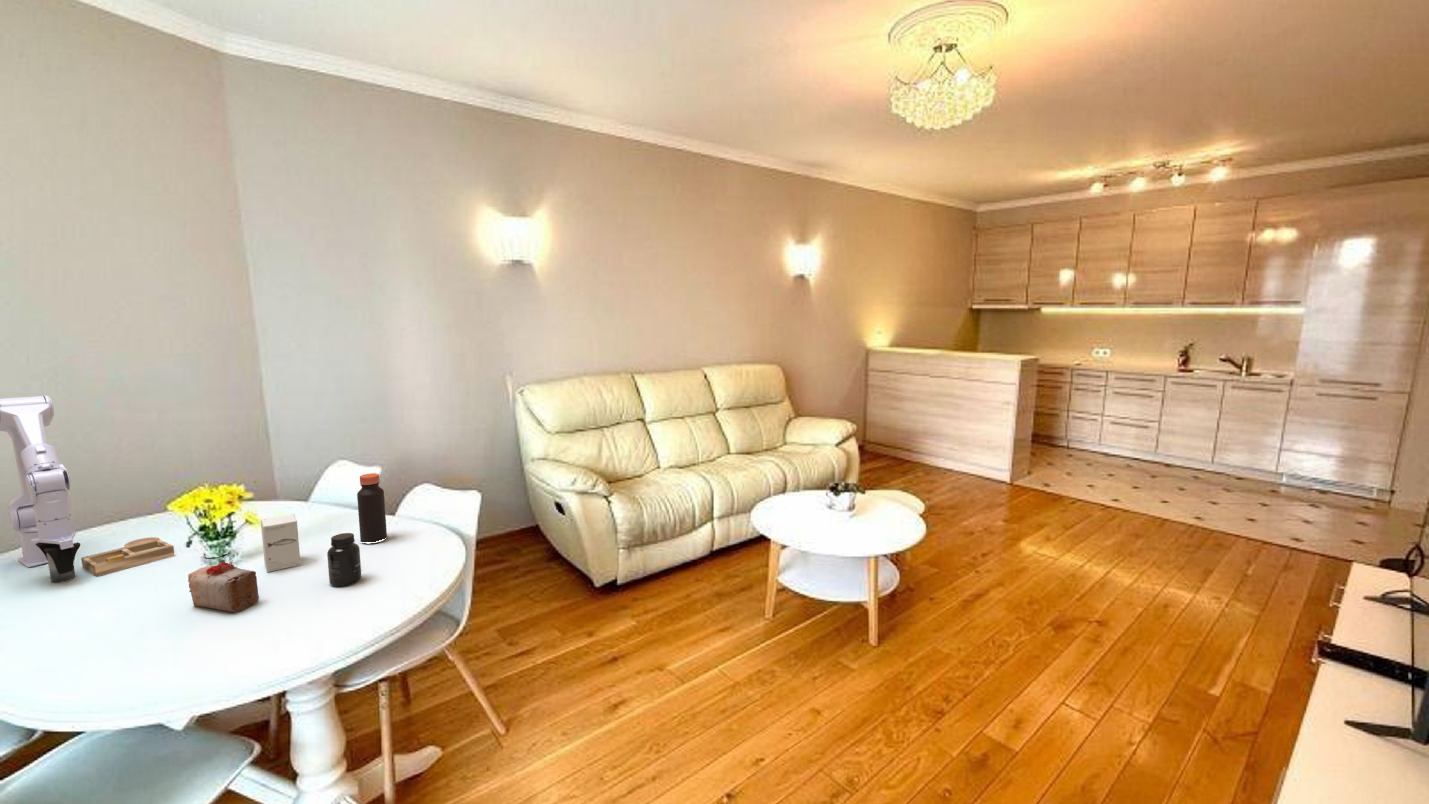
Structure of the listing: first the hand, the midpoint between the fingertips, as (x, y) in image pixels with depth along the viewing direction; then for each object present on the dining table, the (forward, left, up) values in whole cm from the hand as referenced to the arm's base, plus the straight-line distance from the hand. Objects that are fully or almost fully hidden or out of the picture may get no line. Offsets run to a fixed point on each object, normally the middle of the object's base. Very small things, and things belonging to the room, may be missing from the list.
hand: (62, 570), depth 140 cm
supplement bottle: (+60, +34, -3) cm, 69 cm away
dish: (-8, +17, -2) cm, 19 cm away
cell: (0, 0, -2) cm, 2 cm away
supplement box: (+36, +32, -3) cm, 48 cm away
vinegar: (+40, +54, -3) cm, 67 cm away
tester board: (0, +12, -2) cm, 12 cm away
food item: (+48, +14, -3) cm, 50 cm away
